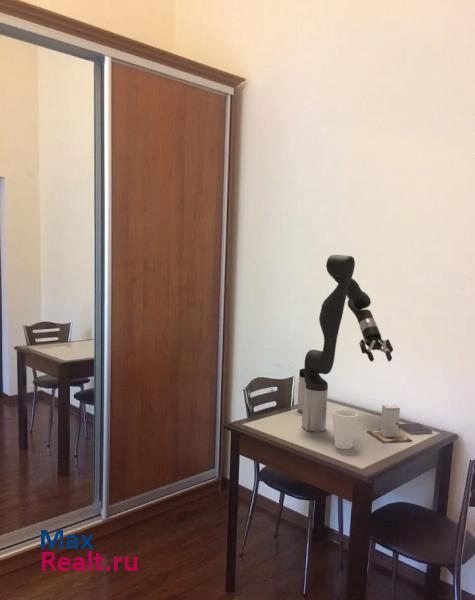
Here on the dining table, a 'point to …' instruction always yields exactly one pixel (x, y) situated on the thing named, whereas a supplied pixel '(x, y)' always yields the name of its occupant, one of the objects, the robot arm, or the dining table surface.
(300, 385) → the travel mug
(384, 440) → the marked board
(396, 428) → the skincare box
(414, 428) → the ink pad
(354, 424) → the foam cup
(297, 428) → the dining table surface
